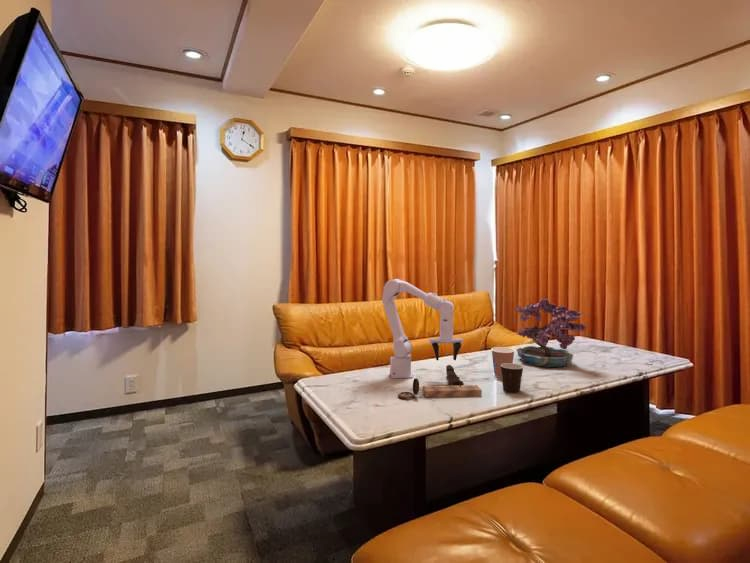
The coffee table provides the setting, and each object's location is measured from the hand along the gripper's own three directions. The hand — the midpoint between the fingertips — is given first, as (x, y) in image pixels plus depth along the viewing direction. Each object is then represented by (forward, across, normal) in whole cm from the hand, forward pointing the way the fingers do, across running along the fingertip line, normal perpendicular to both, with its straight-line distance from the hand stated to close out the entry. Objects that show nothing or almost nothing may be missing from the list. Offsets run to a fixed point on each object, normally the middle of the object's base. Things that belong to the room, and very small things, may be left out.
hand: (445, 359), depth 180 cm
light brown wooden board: (+9, -2, -18) cm, 21 cm away
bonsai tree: (+9, +57, +23) cm, 62 cm away
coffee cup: (+9, +27, +5) cm, 29 cm away
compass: (+9, -19, -22) cm, 30 cm away
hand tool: (+9, +2, -4) cm, 10 cm away
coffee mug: (+9, +22, -16) cm, 29 cm away
